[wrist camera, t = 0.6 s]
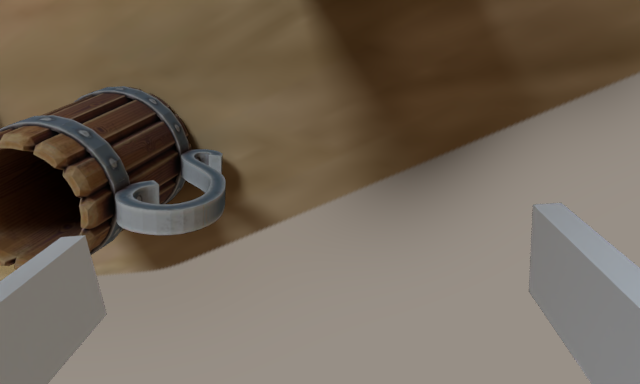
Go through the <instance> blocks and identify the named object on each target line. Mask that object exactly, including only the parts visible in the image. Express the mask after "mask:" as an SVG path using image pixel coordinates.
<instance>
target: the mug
mask: <svg viewBox="0 0 640 384" xmlns="http://www.w3.org/2000/svg"><path fill="white" fill-rule="evenodd" d="M187 137H188V132H187V130H186V128H185V126H184V124H183V122H182V121H181V119H180V118H179V116H178V115H177V114H174V113H172V111H171V108H170V106H169V105H168V104H166V103H165V102H164V101H163V100H162V99H160V98H158V97H157V96H155V95H153V94H151V93H149V94H147V93H145V92H143V91H142V90H141V89H136V88H131V87H107V88H104V89H101V90H98V91H95V92H92V93H89V94H87V95H84V96H82V97H80V98H79V99H77V100H76V101H75V102H73V103H71V104H69V105H66V106H64V107H61V108H59V109H56V110H54V111H51V112H49V113H46V114H44V115H41V116H34V117H31V118H28V119H25V120H22V121H19V122H16V123H14V124H11V125H9V126H6V127H4V128H1V129H0V265H4V266H10V265H12V264H14V263H15V265H14V269H16V270H17V269H18V268H19V267H21V266H22V265H24V264H25V263H26V262H28V261H29V260H30V259H32V258H33V257H35V256H36V255H37V254H39V253H40V252H41V251H43V250H44V249H46V248H47V247H48V246H50V245H51V244H52V243H54V242H55V241H57V240H58V239H59V238H61V237H69V236H83V235H85V236H86V240H87V243H88V247H89V251H90V254H91V255H92V254H93V253H95V252H96V251H98V250H99V249H101V248H102V247H104V246H105V245H107V244H108V243H110V242H111V241H113V240H114V239H115V237H116V236H117V235H118V234H119V233H120V232H121V231H123V230H124V229H126V230H129V231H132V232H136V233H141V234H149V235H176V234H184V233H188V232H192V231H196V230H199V229H202V228H204V227H207V226H209V225H211V224H212V223H214V222H215V221H217V220H218V219H219V218H220V217H221V215H222V214H223V211H224V207H225V184H226V183H225V178H224V176H223V175H222V174H221V173H222V153H220V152H218V151H214V150H206V149H196V150H192V149H191V144H190V143H189V142H188V140H187ZM185 181H188V182H189V183H191V184H193V185H195V186H196V187H198V188H200V189H201V190H202V191H204V192H205V194H204V195H202V196H201V197H199V198H197V199H194V200H191V201H187V202H183V203H178V204H166V203H168V202H169V201H170V200H172V199H173V198H174V197H175V196H176V194H177V193H178V192H179V191H180V190H181V189H182V187H183V185H184V183H185Z"/></svg>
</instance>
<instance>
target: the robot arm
mask: <svg viewBox="0 0 640 384" xmlns="http://www.w3.org/2000/svg"><path fill="white" fill-rule="evenodd" d="M531 235H532V236H531V256H530V280H529V292H530V294H531V295H532V297H533V298H534V300H535V301H536V303H537V304H538V306H539V307H540V309H541V310H542V312H543V313H544V315H545V316H546V317H547V319H548V320H549V322H550V323H551V325H552V326H553V328H554V329H555V331H556V332H557V334H558V335H559V337H560V338H561V339H562V341H563V343H564V344H565V346H566V347H567V348H568V350H569V351H570V353H571V354H572V356H573V357H574V359H575V360H576V362H577V363H578V365H579V366H580V367H581V369H582V371H583V372H584V374H585V375H586V376H587V378H588V379H589V381H590V383H591V384H640V268H639V267H638V266H637V265H636V264H634V263H633V262H632V261H631V260H630V259H628V258H627V257H626V256H625V255H623V254H622V253H621V252H620V251H619V250H618V249H616V248H615V247H614V246H613V245H612V244H610V243H609V242H608V241H607V240H606V239H604V238H603V237H602V236H601V235H600V234H598V233H597V232H596V231H595V230H593V229H592V228H591V227H590V226H589V225H587V224H586V223H585V222H584V221H583V220H581V219H580V218H579V217H578V216H577V215H576V214H574V213H573V212H572V211H571V210H569V209H568V208H567V207H566V206H565V205H563V204H562V203H550V204H535V205H533V212H532V234H531ZM106 315H107V313H106V309H105V305H104V302H103V298H102V294H101V291H100V287H99V283H98V280H97V276H96V272H95V269H94V265H93V262H92V258H91V254H90V251H89V247H88V243H87V240H86V236H85V235H83V236H69V237H61V238H59V239H58V240H57V241H55V242H54V243H52V244H51V245H50V246H48V247H47V248H46V249H44V250H43V251H41V252H40V253H39V254H37V255H36V256H35V257H33V258H32V259H30V260H29V261H28V262H26V263H25V264H24V265H22V266H21V267H19V268H18V269H17V270H15V271H14V272H13V273H11V274H10V275H8V276H7V277H6V278H4V279H3V280H2V281H0V384H48V383H49V382H50V381H51V379H52V378H53V377H54V376H55V375H56V373H57V372H58V371H59V370H60V369H61V367H62V366H63V365H64V364H65V363H66V362H67V360H68V359H69V358H70V357H71V356H72V355H73V353H74V352H75V351H76V350H77V349H78V347H79V346H80V345H81V344H82V343H83V342H84V340H85V339H86V338H87V337H88V336H89V335H90V333H91V332H92V331H93V330H94V329H95V327H96V326H97V325H98V324H99V323H100V321H101V320H102V319H103V318H104V317H105V316H106Z"/></svg>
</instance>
